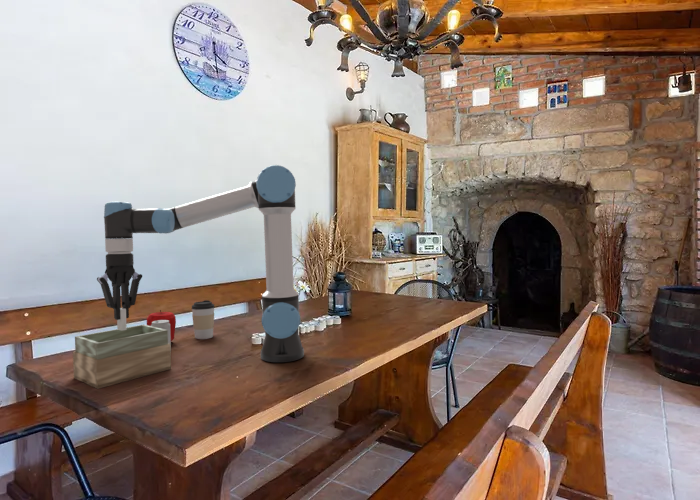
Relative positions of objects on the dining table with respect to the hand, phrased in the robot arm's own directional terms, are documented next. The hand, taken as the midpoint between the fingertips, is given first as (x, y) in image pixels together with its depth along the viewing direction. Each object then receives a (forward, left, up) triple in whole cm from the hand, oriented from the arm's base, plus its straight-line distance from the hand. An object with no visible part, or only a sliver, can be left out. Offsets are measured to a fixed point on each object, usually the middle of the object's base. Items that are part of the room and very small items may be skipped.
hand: (122, 329), depth 138 cm
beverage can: (+10, -18, -14) cm, 25 cm away
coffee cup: (+20, -42, -14) cm, 49 cm away
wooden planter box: (0, 0, -14) cm, 14 cm away
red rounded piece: (+24, -26, -14) cm, 38 cm away
